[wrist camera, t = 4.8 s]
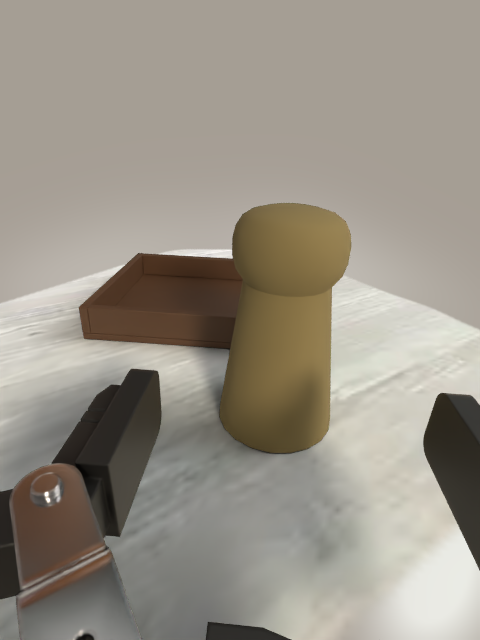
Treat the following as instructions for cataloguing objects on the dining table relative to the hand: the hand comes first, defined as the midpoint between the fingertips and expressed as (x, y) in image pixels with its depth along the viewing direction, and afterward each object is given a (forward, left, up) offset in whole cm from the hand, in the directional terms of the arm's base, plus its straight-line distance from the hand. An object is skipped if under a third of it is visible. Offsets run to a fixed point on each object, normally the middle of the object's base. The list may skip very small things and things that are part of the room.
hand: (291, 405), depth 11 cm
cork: (0, +8, -7) cm, 10 cm away
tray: (-6, +21, -7) cm, 23 cm away
